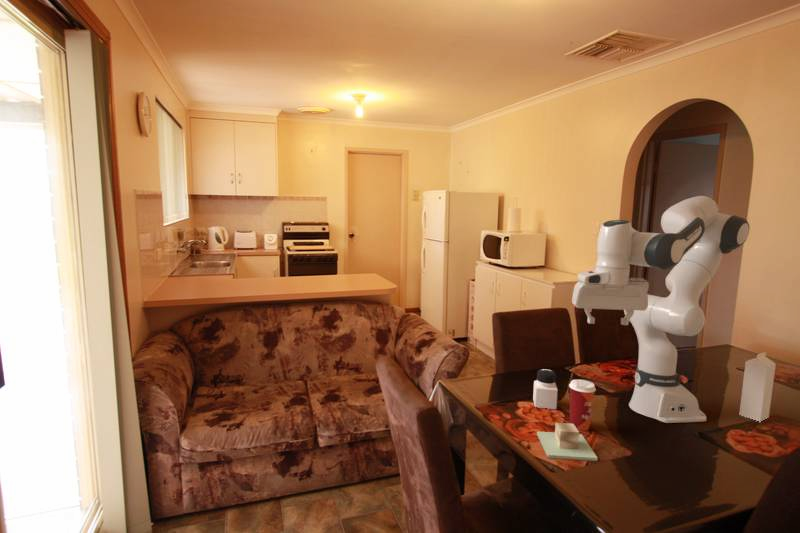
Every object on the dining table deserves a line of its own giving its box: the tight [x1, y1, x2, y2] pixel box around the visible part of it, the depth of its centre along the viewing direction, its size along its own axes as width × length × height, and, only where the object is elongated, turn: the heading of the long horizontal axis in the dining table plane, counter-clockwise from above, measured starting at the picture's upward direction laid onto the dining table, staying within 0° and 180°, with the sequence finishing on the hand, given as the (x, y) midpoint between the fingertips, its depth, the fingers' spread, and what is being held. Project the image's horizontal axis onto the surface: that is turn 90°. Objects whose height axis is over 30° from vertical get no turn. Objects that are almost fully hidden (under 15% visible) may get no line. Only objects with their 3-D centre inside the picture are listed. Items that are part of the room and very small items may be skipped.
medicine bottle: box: [532, 368, 559, 410], centre depth 151 cm, size 7×7×12 cm
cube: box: [554, 422, 580, 449], centre depth 124 cm, size 5×5×5 cm
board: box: [536, 431, 599, 462], centre depth 124 cm, size 13×13×1 cm
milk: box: [738, 351, 777, 423], centre depth 145 cm, size 6×6×22 cm
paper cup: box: [568, 378, 597, 432], centre depth 136 cm, size 8×8×14 cm
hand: (607, 324), depth 127 cm, fingers open, 8 cm apart
